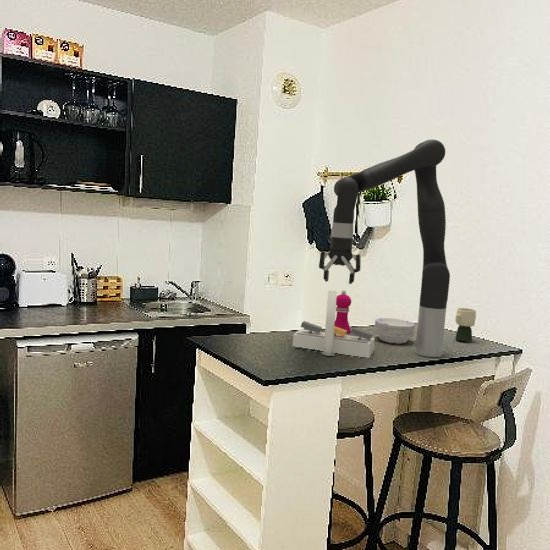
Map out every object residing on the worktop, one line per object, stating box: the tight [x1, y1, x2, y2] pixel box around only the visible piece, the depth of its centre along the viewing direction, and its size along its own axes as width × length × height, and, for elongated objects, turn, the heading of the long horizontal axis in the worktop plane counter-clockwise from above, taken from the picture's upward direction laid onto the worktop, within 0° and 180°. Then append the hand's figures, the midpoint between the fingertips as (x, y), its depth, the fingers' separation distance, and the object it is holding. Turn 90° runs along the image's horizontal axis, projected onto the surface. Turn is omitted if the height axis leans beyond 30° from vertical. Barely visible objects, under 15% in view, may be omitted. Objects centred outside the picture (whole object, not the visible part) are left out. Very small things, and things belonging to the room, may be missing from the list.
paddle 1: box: [300, 320, 323, 333], centre depth 200 cm, size 7×3×2 cm, turn 72°
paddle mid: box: [334, 326, 347, 337], centre depth 197 cm, size 7×3×2 cm, turn 72°
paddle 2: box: [350, 326, 373, 340], centre depth 194 cm, size 7×3×2 cm, turn 72°
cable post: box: [321, 290, 338, 357], centre depth 189 cm, size 4×4×22 cm
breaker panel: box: [292, 328, 376, 359], centre depth 198 cm, size 27×11×6 cm, turn 72°
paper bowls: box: [374, 317, 416, 345], centre depth 217 cm, size 15×15×8 cm
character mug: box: [455, 307, 477, 342], centre depth 224 cm, size 11×7×13 cm, turn 119°
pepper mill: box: [334, 289, 352, 334], centre depth 208 cm, size 7×7×20 cm
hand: (338, 282), depth 195 cm, fingers open, 8 cm apart
